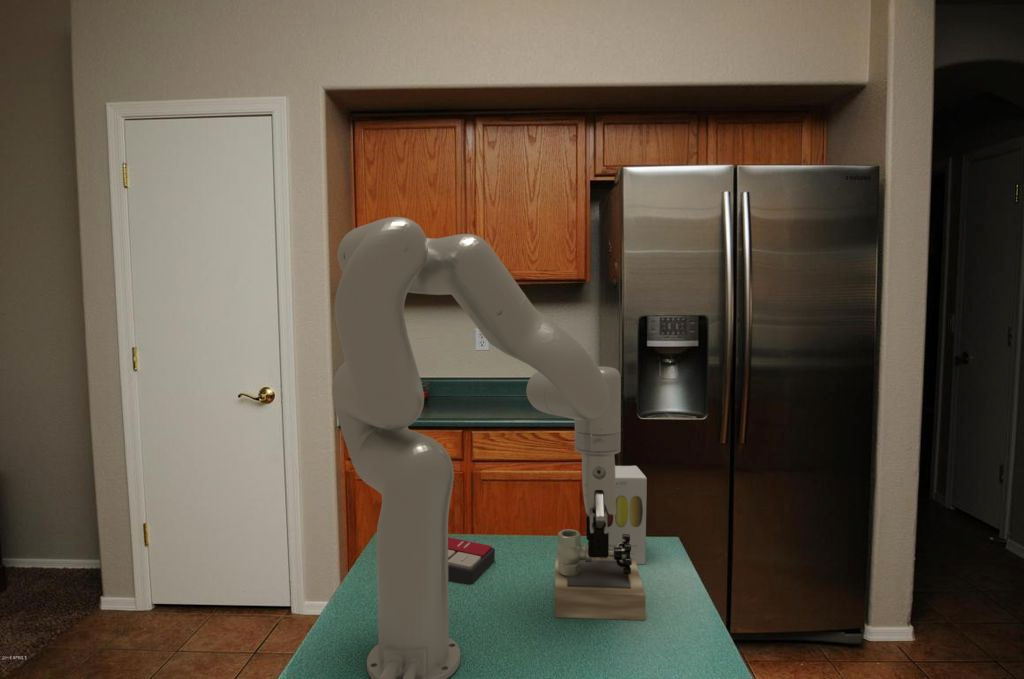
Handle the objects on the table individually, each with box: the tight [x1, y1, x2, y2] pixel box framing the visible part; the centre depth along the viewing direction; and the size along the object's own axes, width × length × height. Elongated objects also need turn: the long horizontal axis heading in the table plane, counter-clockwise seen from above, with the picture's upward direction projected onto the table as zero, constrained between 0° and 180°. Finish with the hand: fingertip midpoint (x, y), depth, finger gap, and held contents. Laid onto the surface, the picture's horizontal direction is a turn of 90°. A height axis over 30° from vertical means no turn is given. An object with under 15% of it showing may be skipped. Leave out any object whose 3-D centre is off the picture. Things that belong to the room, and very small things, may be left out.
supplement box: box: [607, 465, 648, 565], centre depth 120 cm, size 10×9×17 cm
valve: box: [556, 528, 632, 576], centre depth 102 cm, size 7×7×12 cm
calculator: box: [448, 536, 496, 586], centre depth 115 cm, size 11×4×15 cm
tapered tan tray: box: [554, 555, 646, 621], centre depth 102 cm, size 14×14×4 cm
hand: (597, 547), depth 102 cm, fingers open, 6 cm apart
